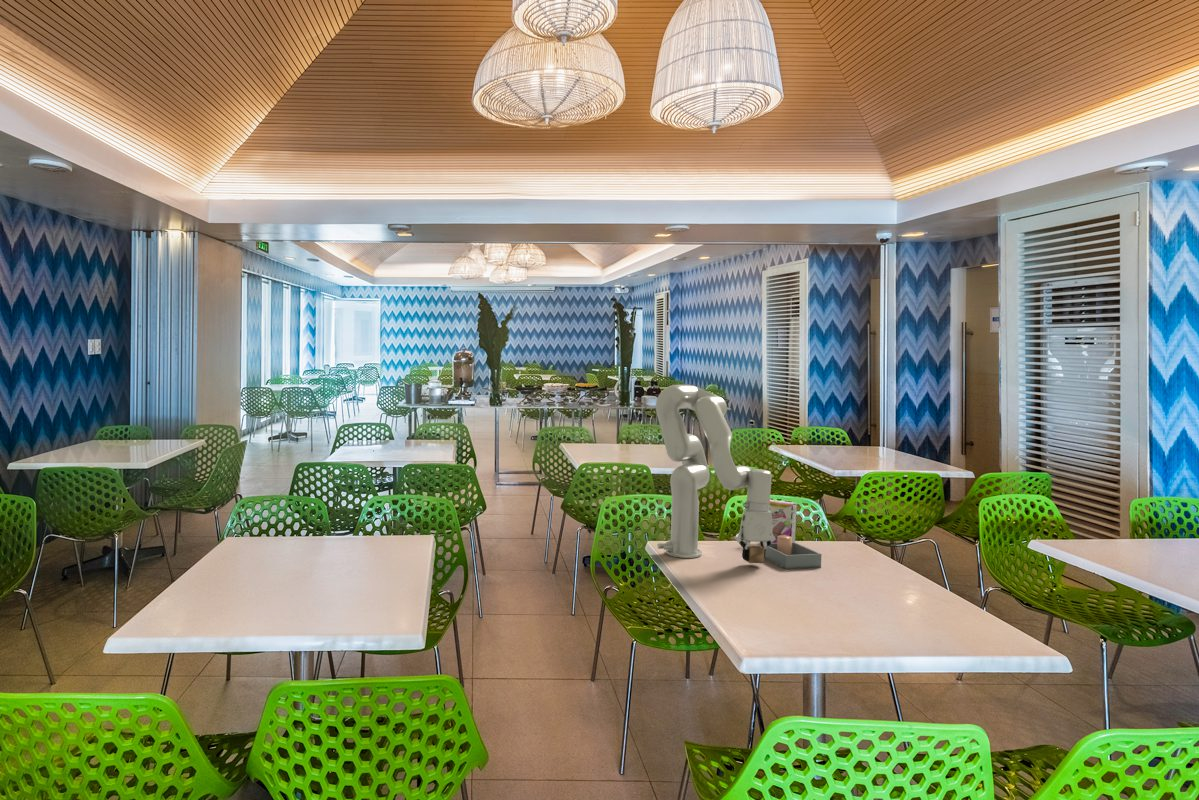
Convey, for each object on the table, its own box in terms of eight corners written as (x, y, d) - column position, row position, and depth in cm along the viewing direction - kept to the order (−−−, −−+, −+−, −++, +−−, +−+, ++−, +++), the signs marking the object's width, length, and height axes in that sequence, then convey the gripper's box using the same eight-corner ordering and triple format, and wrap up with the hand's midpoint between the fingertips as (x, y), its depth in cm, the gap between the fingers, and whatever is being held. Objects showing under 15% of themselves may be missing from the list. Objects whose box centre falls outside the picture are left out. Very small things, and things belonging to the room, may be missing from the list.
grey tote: (785, 569, 251) (786, 555, 251) (761, 556, 267) (761, 543, 267) (820, 567, 254) (821, 554, 254) (794, 554, 271) (794, 542, 271)
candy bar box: (762, 543, 287) (764, 500, 286) (766, 541, 291) (768, 499, 291) (791, 548, 281) (792, 504, 281) (795, 545, 285) (797, 502, 285)
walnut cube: (749, 563, 250) (751, 548, 250) (743, 559, 255) (744, 544, 255) (763, 563, 252) (764, 548, 251) (756, 558, 256) (757, 544, 256)
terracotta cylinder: (780, 558, 262) (781, 538, 262) (774, 555, 267) (775, 535, 267) (793, 558, 263) (794, 538, 263) (787, 554, 268) (788, 535, 268)
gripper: (739, 508, 246) (735, 563, 247) (786, 509, 251) (781, 562, 252) (729, 503, 253) (725, 557, 255) (774, 504, 258) (770, 556, 259)
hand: (753, 559), depth 253 cm, fingers closed on walnut cube, 5 cm apart
